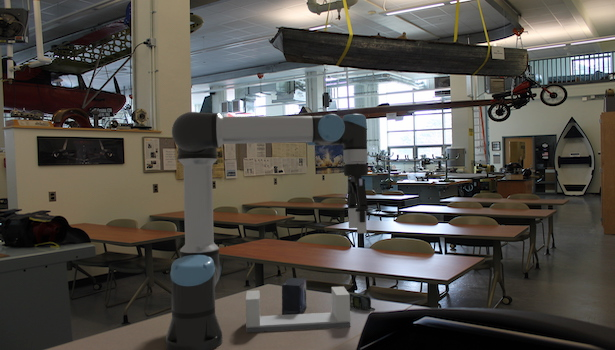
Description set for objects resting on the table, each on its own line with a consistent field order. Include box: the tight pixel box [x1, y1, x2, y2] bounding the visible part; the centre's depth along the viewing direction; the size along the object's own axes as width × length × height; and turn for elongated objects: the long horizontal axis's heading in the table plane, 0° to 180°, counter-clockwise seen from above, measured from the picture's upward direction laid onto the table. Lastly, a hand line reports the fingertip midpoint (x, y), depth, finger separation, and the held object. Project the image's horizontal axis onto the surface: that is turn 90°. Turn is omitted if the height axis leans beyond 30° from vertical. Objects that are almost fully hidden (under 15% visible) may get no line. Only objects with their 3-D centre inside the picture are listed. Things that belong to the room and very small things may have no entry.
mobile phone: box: [347, 291, 376, 311], centre depth 154 cm, size 5×3×15 cm
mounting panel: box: [245, 311, 351, 333], centre depth 138 cm, size 31×10×2 cm, turn 96°
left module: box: [245, 289, 261, 327], centre depth 137 cm, size 4×10×8 cm, turn 6°
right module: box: [331, 285, 351, 322], centre depth 139 cm, size 4×10×8 cm, turn 6°
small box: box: [281, 277, 307, 315], centre depth 150 cm, size 11×6×10 cm, turn 168°
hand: (357, 230), depth 142 cm, fingers open, 13 cm apart
